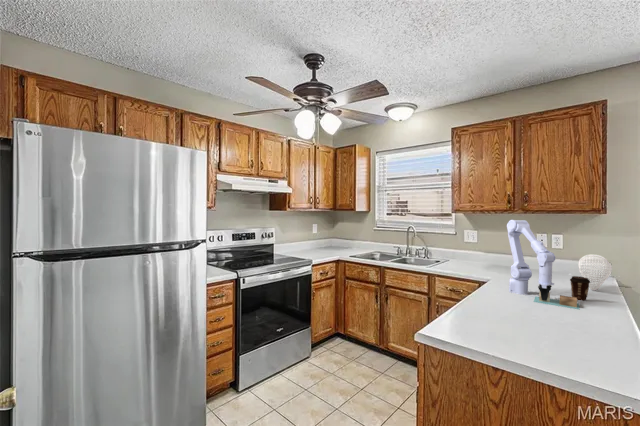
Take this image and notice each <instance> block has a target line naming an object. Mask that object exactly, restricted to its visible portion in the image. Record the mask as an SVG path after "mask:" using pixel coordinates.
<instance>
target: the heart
mask: <svg viewBox="0 0 640 426" xmlns="http://www.w3.org/2000/svg"><path fill="white" fill-rule="evenodd" d="M578 271H579V273H580V275H581V277H584V278H588V279H589V281H590V283H589V289H590V290H592V291H597V290H598V289H599V288H600V287H601V286H602V285H603V284H604V283H605V281H606V280H607V279H608V278H609V277H610V275H611V274H612V272H613V267H612V265H611V263H610V262H609V260H608V259H607V258H606V257H604V256H602V255H599V254H596V253H595V254H594V253H593V254H592V253H591V254H585V255H584V256H582V257H580V258H579V260H578Z"/></svg>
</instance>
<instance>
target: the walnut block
mask: <svg viewBox="0 0 640 426" xmlns="http://www.w3.org/2000/svg"><path fill="white" fill-rule="evenodd" d="M559 300H560V303H559V305H565V306H571V307H577V303H578V300H577V298H575V297H572V296H567V295H559Z"/></svg>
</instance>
